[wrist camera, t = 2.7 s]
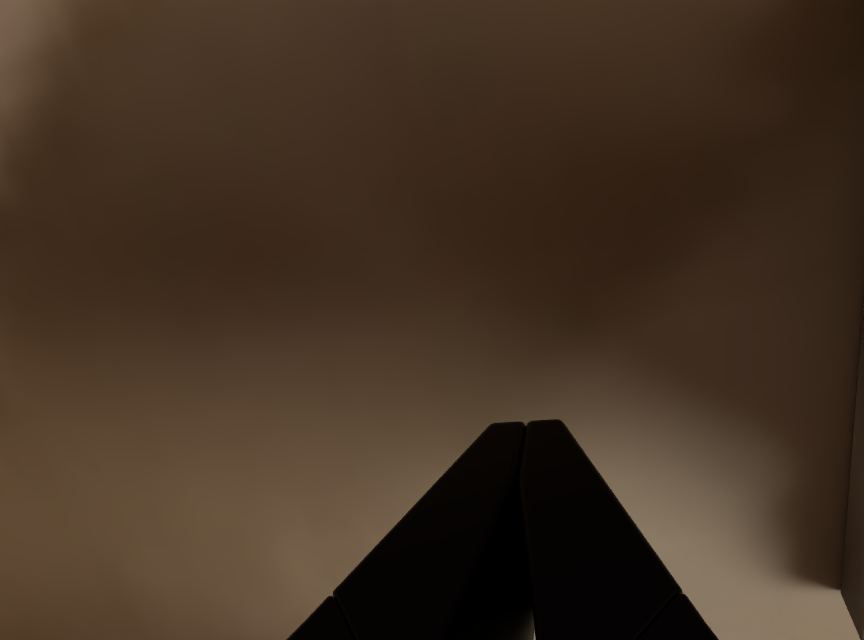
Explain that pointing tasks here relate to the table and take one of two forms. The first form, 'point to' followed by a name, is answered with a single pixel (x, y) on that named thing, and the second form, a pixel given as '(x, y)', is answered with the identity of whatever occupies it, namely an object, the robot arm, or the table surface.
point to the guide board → (856, 512)
